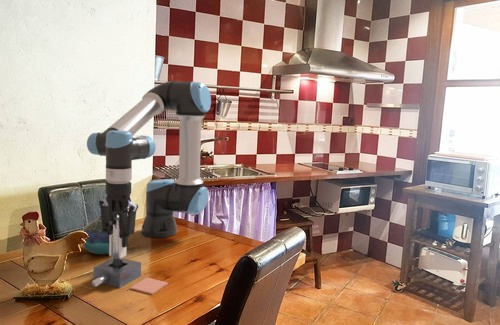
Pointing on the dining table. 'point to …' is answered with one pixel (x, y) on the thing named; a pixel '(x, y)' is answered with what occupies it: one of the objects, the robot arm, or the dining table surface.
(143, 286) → the mat
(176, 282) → the dining table surface
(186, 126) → the robot arm
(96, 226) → the vase
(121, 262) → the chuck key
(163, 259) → the dining table surface
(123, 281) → the chuck block
